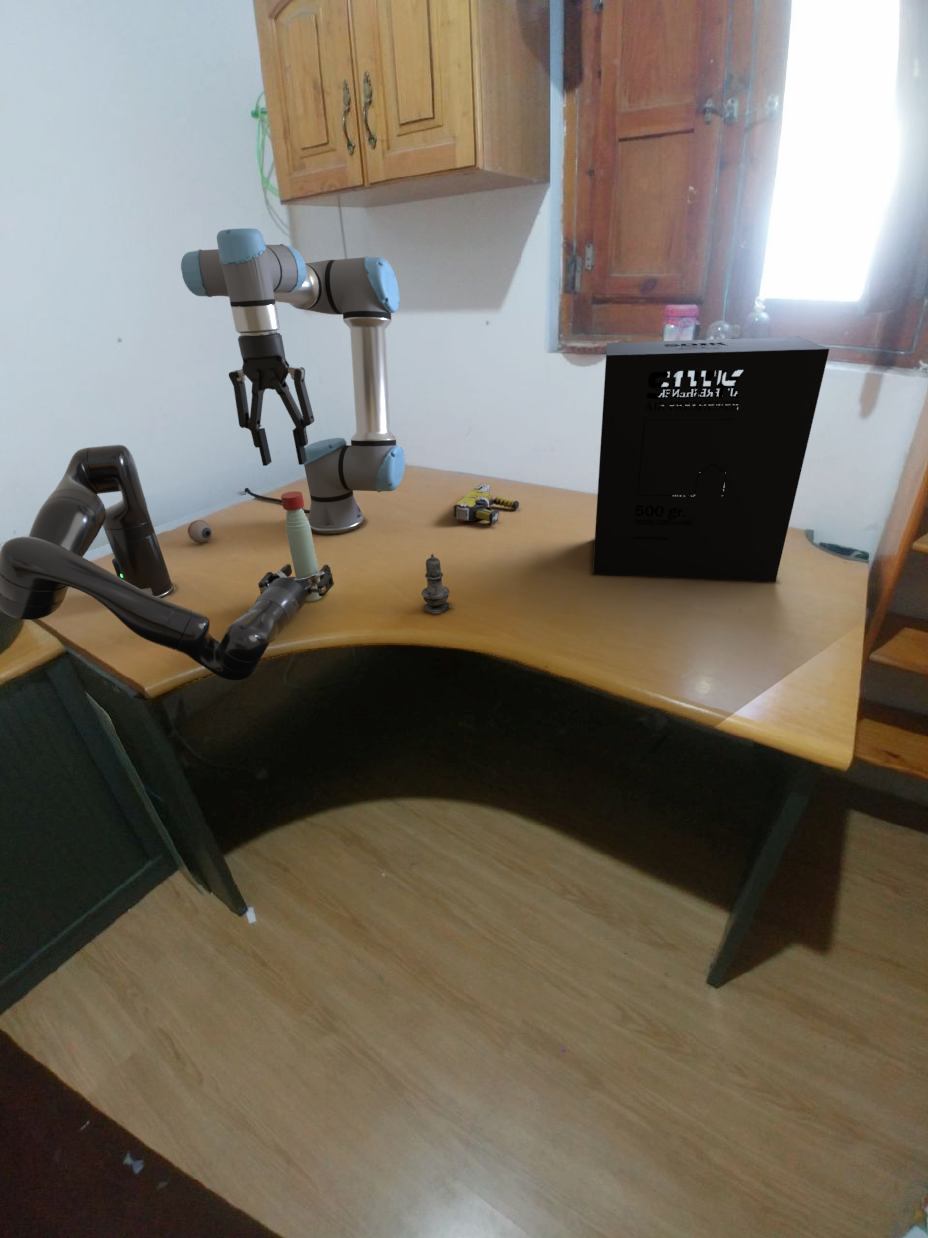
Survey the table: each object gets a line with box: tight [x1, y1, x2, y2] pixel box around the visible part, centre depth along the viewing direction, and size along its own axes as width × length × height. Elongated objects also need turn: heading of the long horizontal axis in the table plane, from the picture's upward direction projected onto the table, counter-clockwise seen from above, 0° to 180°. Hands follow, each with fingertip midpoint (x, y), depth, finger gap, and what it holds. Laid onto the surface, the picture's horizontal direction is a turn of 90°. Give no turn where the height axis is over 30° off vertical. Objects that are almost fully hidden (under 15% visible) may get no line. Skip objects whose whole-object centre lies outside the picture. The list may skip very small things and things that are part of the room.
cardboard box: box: [592, 336, 830, 583], centre depth 128 cm, size 38×20×45 cm, turn 78°
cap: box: [280, 490, 305, 511], centre depth 121 cm, size 4×4×3 cm
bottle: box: [284, 508, 324, 603], centre depth 127 cm, size 5×5×23 cm
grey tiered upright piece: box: [420, 553, 451, 614], centre depth 122 cm, size 6×6×12 cm
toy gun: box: [452, 482, 520, 526], centre depth 172 cm, size 5×24×15 cm
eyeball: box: [187, 519, 213, 544], centre depth 162 cm, size 6×6×6 cm
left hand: (308, 568), depth 130 cm, fingers open, 8 cm apart
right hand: (285, 462), depth 118 cm, fingers open, 6 cm apart
